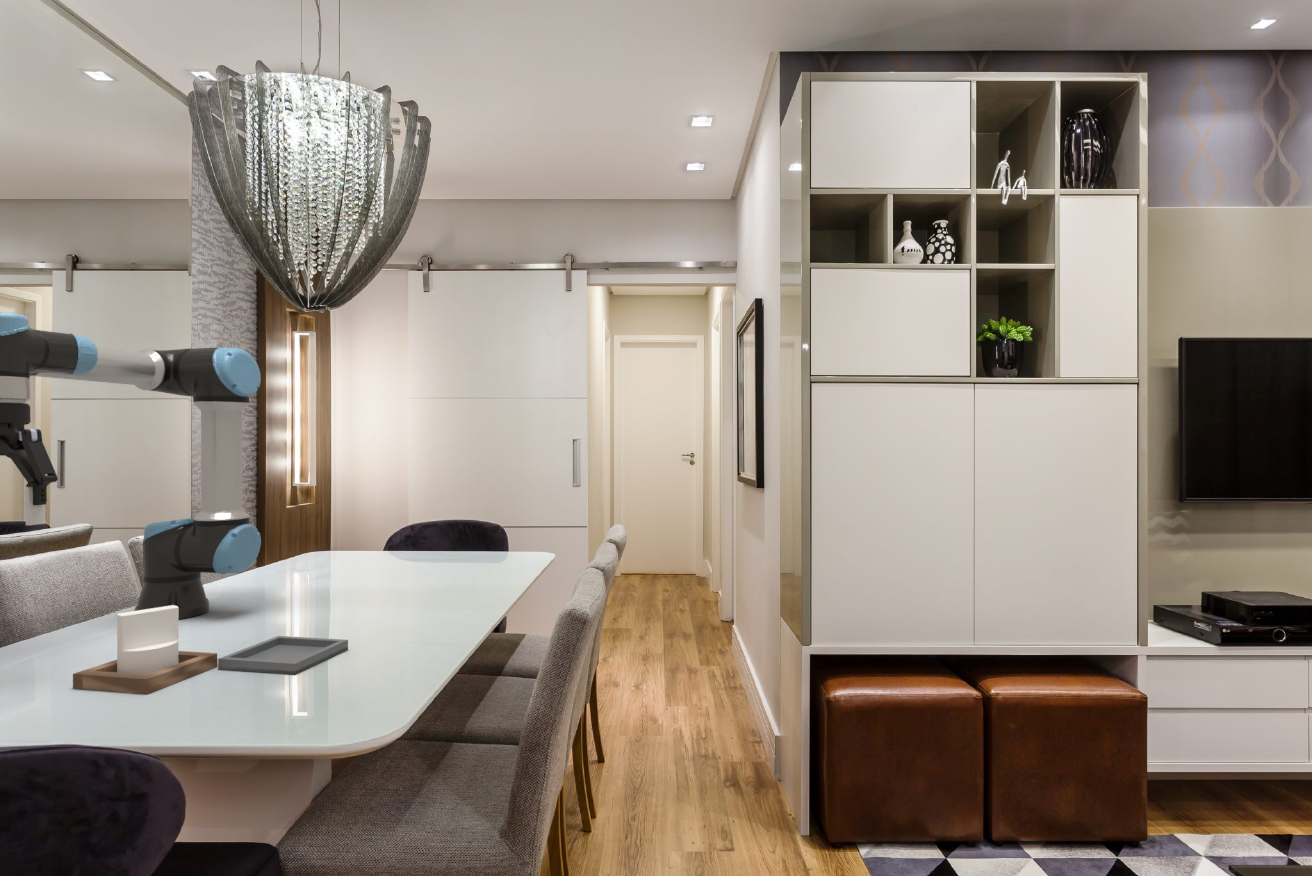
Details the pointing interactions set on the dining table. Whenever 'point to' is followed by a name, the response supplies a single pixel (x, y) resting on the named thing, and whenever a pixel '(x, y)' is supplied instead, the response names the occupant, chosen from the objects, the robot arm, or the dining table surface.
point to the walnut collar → (112, 681)
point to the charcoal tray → (283, 655)
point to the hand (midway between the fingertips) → (4, 524)
